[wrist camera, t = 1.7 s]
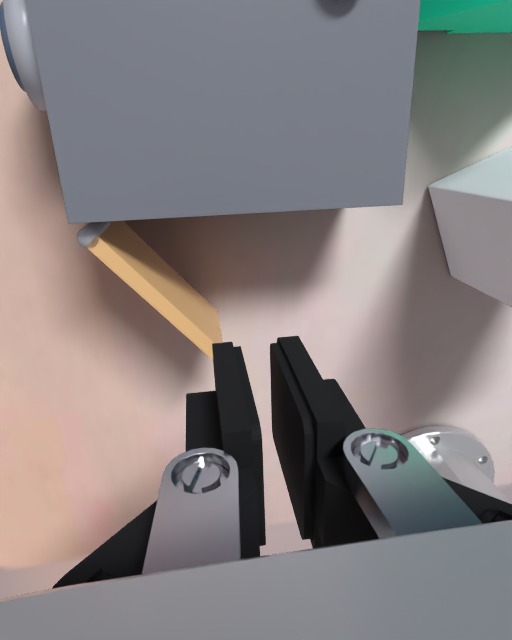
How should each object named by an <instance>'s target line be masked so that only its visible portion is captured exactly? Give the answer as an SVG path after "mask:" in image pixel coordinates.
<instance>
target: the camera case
mask: <svg viewBox="0 0 512 640" xmlns="http://www.w3.org/2000/svg"><path fill="white" fill-rule="evenodd" d="M419 10H420V0H3V2H2V3H1V5H0V29H1V36H2V41H3V45H4V49H5V53H6V56H7V59H8V62H9V65H10V68H11V70H12V72H13V75H14V77H15V79H16V81H17V83H18V84H19V86H20V87H21V88H22V90H23V91H25V92H26V93H27V95H28V97H29V98H30V100H31V102H32V103H33V104H34V106H35V107H36V108H37V109H39V110H40V111H47V115H48V120H49V125H50V130H51V135H52V141H53V146H54V151H55V156H56V161H57V167H58V172H59V177H60V182H61V187H62V192H63V198H64V203H65V208H66V213H67V218H68V224H71V223H88V222H106V221H124V220H142V219H159V218H177V217H195V216H213V215H231V214H248V213H266V212H284V211H302V210H319V209H337V208H355V207H373V206H391V205H402V203H403V192H404V180H405V169H406V158H407V146H408V135H409V124H410V112H411V101H412V90H413V78H414V67H415V56H416V44H417V33H418V22H419Z"/></svg>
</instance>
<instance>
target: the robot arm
mask: <svg viewBox="0 0 512 640" xmlns="http://www.w3.org/2000/svg"><path fill="white" fill-rule="evenodd" d="M212 351H213V363H214V376H215V389H216V391H208V392H199V393H189V394H187V395H186V452H184V453H182V454H180V455H178V456H177V457H175V458H174V459H173V460H172V461H171V462H170V463H169V464H168V465H167V466H166V468H165V471H164V473H163V477H162V481H161V486H160V491H159V496H158V500H157V501H156V502H154V503H153V504H152V505H151V506H150V507H148V508H147V509H146V510H145V511H143V512H142V513H141V514H140V515H138V516H137V517H136V518H135V519H133V520H132V521H131V522H130V523H128V524H127V525H126V526H125V527H124V528H122V529H121V530H120V531H119V532H117V533H116V534H115V535H114V536H112V537H111V538H110V539H109V540H107V541H106V542H105V543H104V544H102V545H101V546H100V547H99V548H98V549H96V550H95V551H94V552H93V553H91V554H90V555H89V556H88V557H86V558H85V559H84V560H83V561H81V562H80V563H79V564H78V565H76V566H75V567H74V568H73V569H71V570H70V571H69V572H68V573H67V574H65V575H64V576H63V577H62V578H61V579H60V580H59V581H58V582H57V583H56V584H55V585H54V586H53V588H52V589H48V590H43V591H38V592H32V593H27V594H21V595H16V596H11V597H6V598H1V599H0V640H512V504H511V503H510V502H509V500H508V499H507V498H506V497H505V496H504V495H503V494H502V493H501V491H500V490H499V489H498V488H497V487H496V486H495V485H494V484H493V482H494V472H495V471H494V464H493V460H492V458H491V455H490V453H489V452H488V450H487V449H486V448H485V447H484V445H483V444H482V443H481V442H480V441H479V440H478V439H477V438H476V437H474V436H473V435H472V434H470V433H468V432H466V431H465V430H462V429H458V428H455V427H449V426H431V427H424V428H420V429H416V430H413V431H410V432H408V433H405V434H403V435H401V436H400V435H398V434H397V433H394V432H391V431H388V430H384V429H375V428H371V429H366V428H365V426H364V425H363V423H362V422H361V420H360V418H359V417H358V415H357V414H356V412H355V410H354V409H353V407H352V405H351V404H350V402H349V401H348V399H347V397H346V396H345V394H344V392H343V391H342V389H341V388H340V386H339V384H338V383H337V381H336V380H335V379H326V380H323V379H322V377H321V375H320V374H319V372H318V370H317V368H316V366H315V365H314V363H313V361H312V359H311V358H310V356H309V354H308V352H307V351H306V349H305V347H304V345H303V343H302V342H301V340H300V338H299V337H298V336H291V337H280V338H278V339H277V343H272V344H270V365H271V406H272V433H273V439H274V443H275V446H276V450H277V453H278V457H279V461H280V464H281V468H282V471H283V475H284V478H285V482H286V485H287V489H288V492H289V496H290V499H291V503H292V506H293V510H294V513H295V517H296V521H297V524H298V527H299V531H300V535H301V537H302V539H303V540H304V539H310V540H311V543H312V546H313V549H307V550H300V551H293V552H286V553H279V554H273V555H267V556H260V546H263V545H265V544H266V537H265V509H264V481H263V452H262V435H261V427H260V422H259V418H258V414H257V410H256V406H255V402H254V398H253V394H252V390H251V386H250V382H249V378H248V374H247V370H246V366H245V362H244V358H243V354H242V350H241V346H239V347H233V343H232V342H224V343H213V344H212Z"/></svg>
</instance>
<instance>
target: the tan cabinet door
mask: <svg viewBox="0 0 512 640" xmlns="http://www.w3.org/2000/svg"><path fill="white" fill-rule="evenodd" d="M77 240H78V242H79V244H80V245H81V246H83V247H85V248H88V249H89V250H90V251H91V252H92V253H93V254H94V255H95V256H97V257H98V258H99V259H100V260H101V261H102V262H103V263H104V264H106V265H107V266H108V267H109V268H110V269H111V270H112V271H113V272H114V273H116V274H117V275H118V276H119V277H120V278H121V279H122V280H123V281H125V282H126V283H127V284H128V285H129V286H130V287H131V288H132V289H134V290H135V291H136V292H137V293H138V294H139V295H140V296H141V297H143V298H144V299H145V300H146V301H147V302H148V303H149V304H150V305H151V306H153V307H154V308H155V309H156V310H157V311H158V312H159V313H160V314H162V315H163V316H164V317H165V318H166V319H167V320H168V321H169V322H171V323H172V324H173V325H174V326H175V327H176V328H177V329H178V330H180V331H181V332H182V333H183V334H184V335H185V336H186V337H187V338H188V339H190V340H191V341H192V342H193V343H194V344H195V345H196V346H197V347H199V348H200V349H201V350H202V351H203V352H204V353H205V354H206V355H208V356H209V357H210V358H211V359H212V360H213V351H212V344H213V343H223V341H222V335H221V329H220V323H219V317H218V311H217V310H216V309H215V308H214V307H212V306H211V305H210V304H209V303H208V302H207V301H206V300H205V299H204V298H203V297H202V296H201V295H200V294H199V293H198V292H197V291H196V290H195V289H194V288H193V287H192V286H190V285H189V284H188V283H187V282H186V281H185V280H184V279H183V278H182V277H181V276H180V275H179V274H178V273H177V272H176V271H175V270H174V269H173V268H172V267H171V266H170V265H168V264H167V263H166V262H165V261H164V260H163V259H162V258H161V257H160V256H159V255H158V254H157V253H156V252H155V251H154V250H153V249H152V248H151V247H150V246H149V245H148V244H146V243H145V242H144V241H143V240H142V239H141V238H140V237H139V236H138V235H137V234H136V233H135V232H134V231H133V230H132V229H131V228H130V227H129V226H128V225H127V224H126V223H124V222H123V221H106V222H90V223H89V224H87V225H86V226H85V227H84V228H82V229H81V230H80V231H79V232H78V234H77Z"/></svg>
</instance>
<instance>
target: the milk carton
mask: <svg viewBox="0 0 512 640" xmlns="http://www.w3.org/2000/svg"><path fill="white" fill-rule="evenodd" d="M429 192H430V196H431V200H432V204H433V207H434V211H435V215H436V219H437V223H438V227H439V231H440V235H441V239H442V243H443V247H444V251H445V255H446V259H447V263H448V266H449V270H450V274H451V276H452V277H454V278H455V279H457V280H459V281H461V282H463V283H465V284H467V285H469V286H471V287H473V288H475V289H477V290H479V291H481V292H483V293H485V294H487V295H489V296H491V297H493V298H495V299H497V300H499V301H501V302H502V303H504V304H506V305H508V306H510V307H512V146H511V147H509V148H507V149H505V150H503V151H501V152H498V153H496V154H494V155H492V156H490V157H488V158H485V159H483V160H481V161H479V162H477V163H475V164H473V165H470V166H468V167H466V168H464V169H462V170H460V171H457V172H455V173H453V174H451V175H449V176H447V177H444V178H442V179H440V180H438V181H436V182H434V183H432V184H430V185H429Z"/></svg>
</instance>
